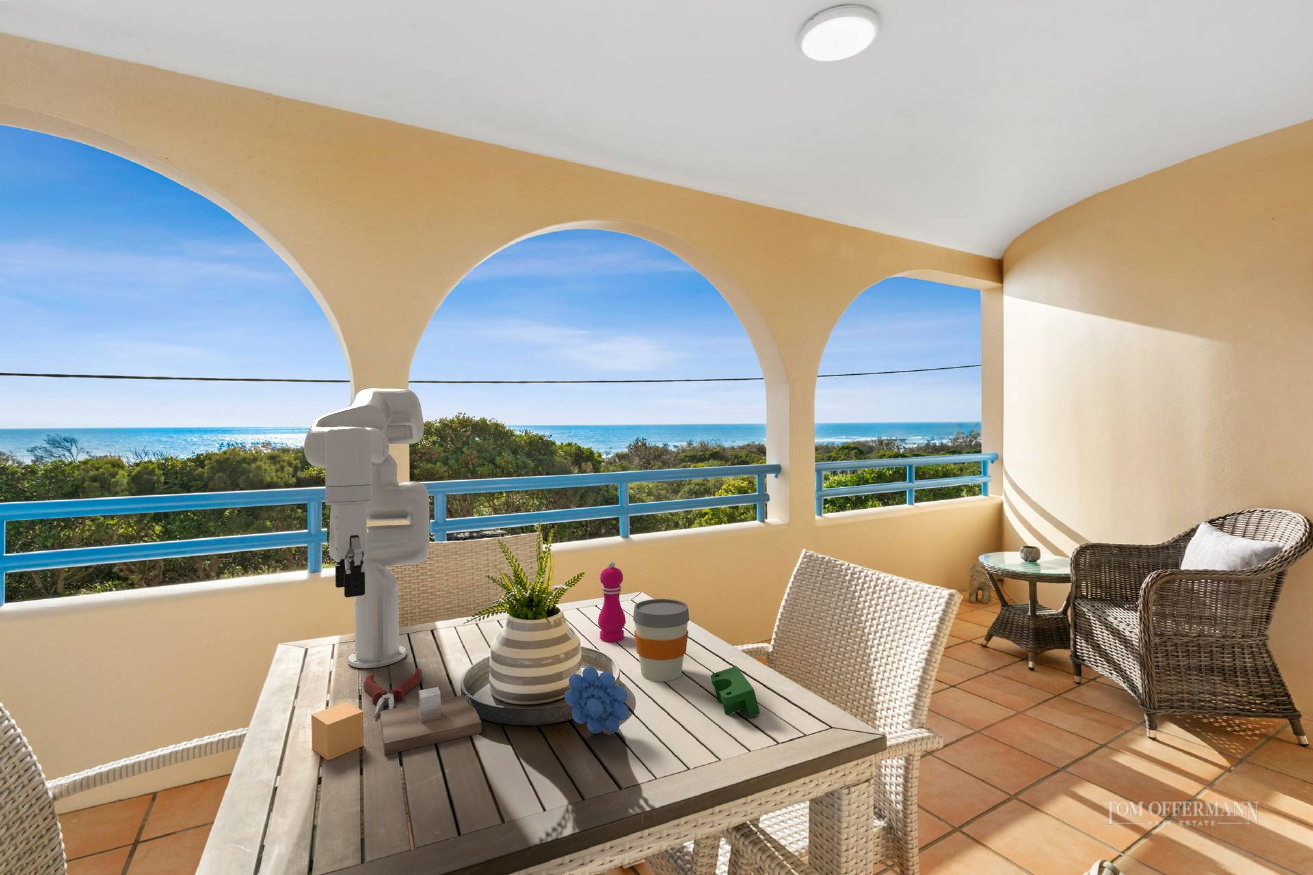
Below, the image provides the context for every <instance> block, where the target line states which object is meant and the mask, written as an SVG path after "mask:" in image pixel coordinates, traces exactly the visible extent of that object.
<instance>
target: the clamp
mask: <svg viewBox="0 0 1313 875" xmlns="http://www.w3.org/2000/svg"><path fill="white" fill-rule="evenodd" d="M710 681H711V685H712V686H713V688H714V691H715V696H716V700H717V703H718V704H720V703H721V704H722V708H723V711H724V714H725V715H726V716H727V715H731V714H734V713H736V712H739V711H742V710H743V711H744V712H745V714H746V716H747V717H748V718H752V717H754V716H758V715H760V712H761V711H760V708H759V703H758V701H757V700H758V699H757V696H756V692H755V688H754V687H753V686H752V684H751V683H750V682H749V680H748V679H747V678H746V677H745V675H744V673H743V672H742V671H741V670H740V669H739V667H738V666H737V665H734V666H732V667H729V668H725V669H723V670H720V671H717V672H714V673H712V674H711V675H710Z"/></svg>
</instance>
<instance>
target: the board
mask: <svg viewBox="0 0 1313 875" xmlns="http://www.w3.org/2000/svg"><path fill="white" fill-rule="evenodd" d="M464 695H465V694H462V695H461V694H460V695H456V696H452V697H446V698H442V697H441V690H440V688H439V686H435V687H431V688H426V689H421V690H418V703H416V704H409V705H405V706H400V707H396V708H395V707H394V709H390V710H389V709H386V710H385V709H383V710H382V711H380V714H379V716H380V730H381V737H382V745H383V754H384V756H387V755H391V754H396V753H399V752H404V751H409V750H414V749H419V748H421V747H425V746H431V745H434V744H440V743H443V742H448V741H452V740H456V739H461V738H465V737H470V736H474V735H477V734H478V735H479V734H482V720H481V718H480V716H479V714H478V711H477V710H476V708H474V707H475V706H474V707H472V706H470V705H469V704H468V703H467V702H466V698H465V696H464ZM466 695H469V696H470V694H469V693H466Z"/></svg>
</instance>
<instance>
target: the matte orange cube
mask: <svg viewBox="0 0 1313 875" xmlns="http://www.w3.org/2000/svg"><path fill="white" fill-rule="evenodd" d="M310 716H311V719H310V720H311V749H312V751H314V752H315V753H317V754H318V755H320V756H321V757H322V758H324V760H327V761H330V760H333V759H336V758H338V757H339V756H342V755H345V754H347V753H349V752H352V751H354V750H357V749H359V748H361V747H364V746H365V739H364V737H365V736H364V735H365V734H364V725H365V724H364V723H365V722H364V710H362V709H360V708H358V707H357V706H355V705H353V704H351V703H350V702H348V701H345V702H343V703H339V704H336V705H334V706H330V707H329V708H326V709H323V710H320V711H317V712H315V713H311V715H310Z"/></svg>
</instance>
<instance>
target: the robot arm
mask: <svg viewBox="0 0 1313 875" xmlns="http://www.w3.org/2000/svg"><path fill="white" fill-rule="evenodd" d="M418 397H419V396H417V394H416V393H415V392H414V391H412V390H411V389H407V388H368V389H367V388H366V389H363V390H361V391H359V392H357V393H356V394H355V395H354V396H353V398H352V400H351V402H350V404H349V406H348V407H346V408H344V409H341V410H337V411H335V412H331V413H327V414H325V415H323V416H321V417H319V418H317V419H316V420H315V421H314V422H313V423H312V424H311V426H310V428H309V430H308V431H307V433H306V436H305V439H304V443H303V444H304V445H303V452H304V456H305V459H306V460H307V462H308V464H310V465H311V466H314V467H315V468H324V470H325V473H324V474H325V475H324V476H325V483H324V484H325V490H324V491H325V506H330V514H329V516H330V517H329V540H328V542H329V544H328V555H329V556H330V558H331V559H333V560H334V561H335V575H334V576H335V585H334V586H335V587H336V588H338V589H339V588H343V590H344V591H343V595H344V597H345V598H353V597H354V599H353V600H354V602H353V604H354V647H355V648H354V652H352V653H351V654H350V655H349V656H348V657H347V663H348V665H349V666H351V667H353V668H358V669H374V668H381V667H386V666H388V665H392V664H395V663H397V662H399V661H401V660H403V659H404V658H405V657H406V656H407V648H405V647H404V646H402V645H400V628H399V626H400V625H399V624H400V619H399V616H400V615H399V613H400V612H399V583H398V580H397V578H396V576H395V575H394V574H393V573H392V571H391V570H389V568H388V567H392V566H401V565H402V566H404V565H415V564H421V563H423V562H425V561H427V558H428V556H429V552H430V498H429V496H430V495H429V492H428V488H427V486H426V485H425V484H424V483H422V482H420V481H398V464H397V461H396V459H395V458H394V457H393V456H392V455H391V454H390V453H389V452H390V451H389V450H390V445H411V444H416V443H419V442H420V441H421V440H422V438H423V436H424V431H425V424H424V423H425V422H424V417H423V411H422V406H421V402H420V399H419V398H418ZM395 521H398V522H400V521H407V522H409V524H393V525H392V524H387V525H386V524H385V525H384V524H383V525H371V526H370V525H369V526H367V524H368V523H367V522H395Z"/></svg>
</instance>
